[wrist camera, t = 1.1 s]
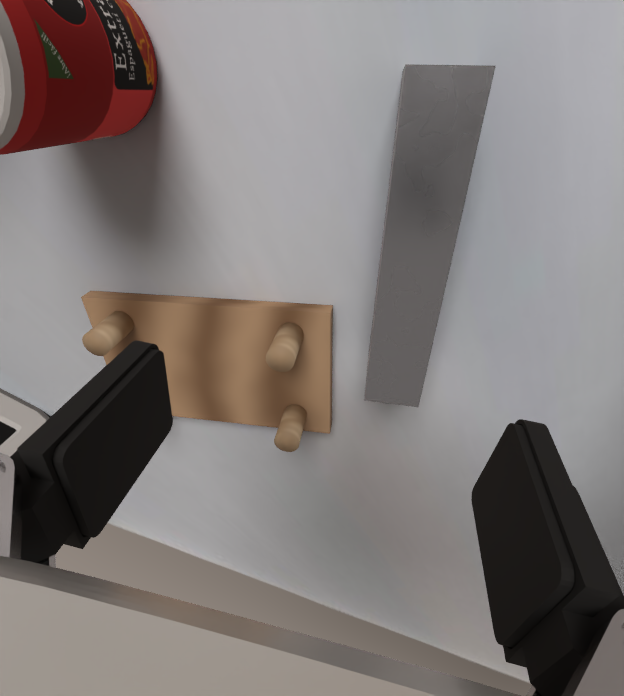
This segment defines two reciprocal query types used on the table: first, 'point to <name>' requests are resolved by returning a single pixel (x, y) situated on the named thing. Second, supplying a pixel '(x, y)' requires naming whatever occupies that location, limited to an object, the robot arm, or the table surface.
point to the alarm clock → (17, 422)
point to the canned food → (71, 72)
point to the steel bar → (422, 220)
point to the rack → (228, 356)
